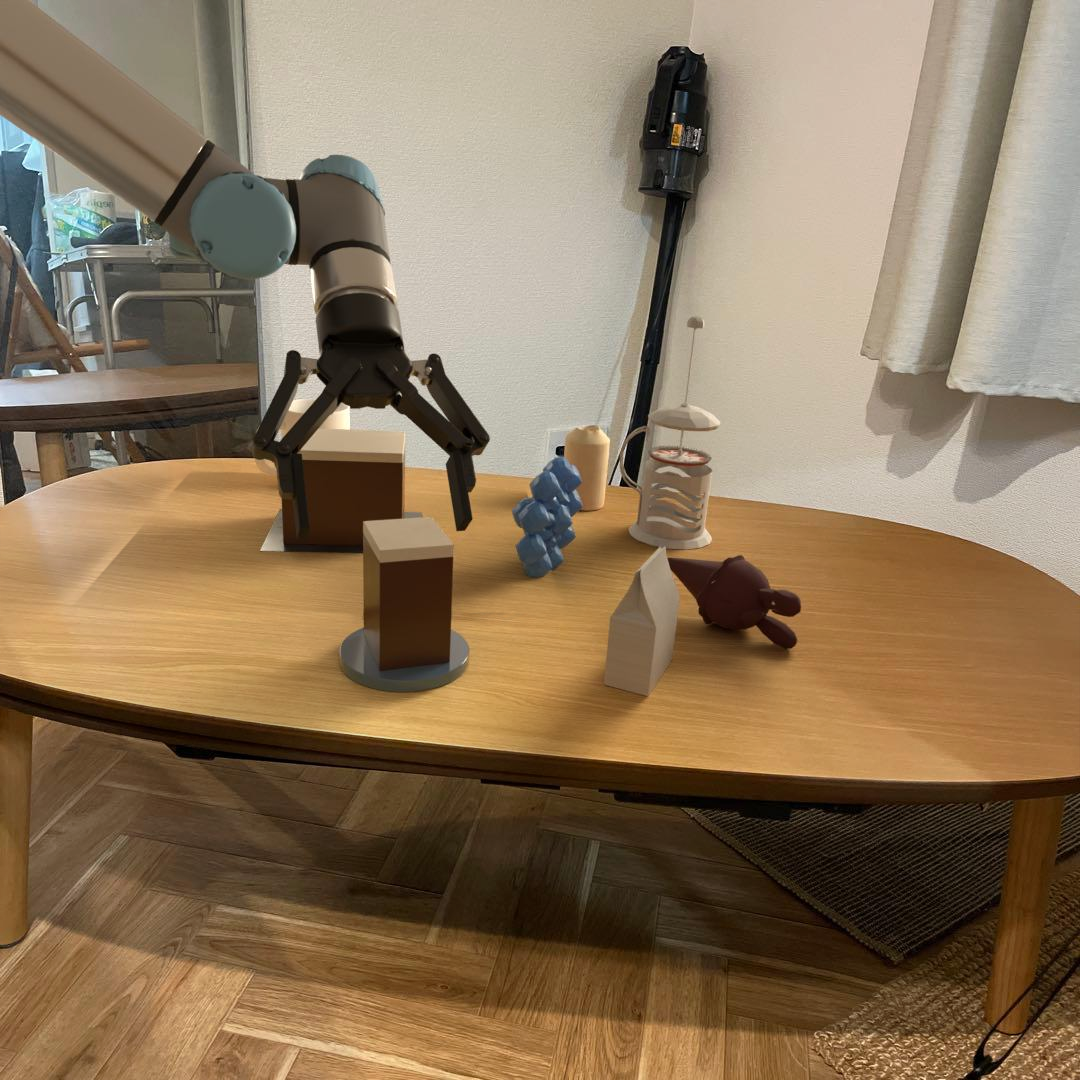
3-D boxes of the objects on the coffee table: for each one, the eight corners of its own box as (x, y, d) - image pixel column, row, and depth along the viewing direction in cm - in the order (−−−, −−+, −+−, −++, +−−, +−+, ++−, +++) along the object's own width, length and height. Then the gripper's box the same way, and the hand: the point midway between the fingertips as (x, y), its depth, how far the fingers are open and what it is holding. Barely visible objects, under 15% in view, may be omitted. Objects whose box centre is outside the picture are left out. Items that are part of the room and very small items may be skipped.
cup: (361, 489, 113) (360, 410, 110) (268, 502, 106) (264, 418, 103) (334, 472, 119) (332, 396, 116) (244, 483, 112) (240, 403, 109)
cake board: (260, 560, 90) (259, 550, 90) (280, 516, 102) (280, 508, 102) (420, 563, 92) (420, 554, 92) (422, 520, 104) (422, 512, 104)
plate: (333, 692, 67) (332, 680, 67) (345, 629, 77) (345, 619, 77) (471, 692, 69) (472, 680, 68) (466, 630, 78) (467, 620, 78)
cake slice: (379, 671, 69) (379, 550, 65) (363, 634, 74) (362, 521, 71) (450, 662, 71) (454, 544, 67) (429, 627, 76) (431, 516, 73)
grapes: (532, 547, 98) (539, 440, 94) (589, 560, 96) (599, 451, 92) (482, 582, 88) (487, 465, 84) (544, 598, 86) (553, 478, 82)
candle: (581, 494, 117) (587, 419, 114) (612, 505, 114) (620, 428, 110) (551, 502, 113) (557, 424, 110) (583, 514, 110) (590, 434, 106)
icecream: (639, 545, 83) (776, 616, 73) (691, 513, 87) (827, 576, 77) (639, 604, 87) (769, 678, 77) (689, 571, 91) (818, 637, 81)
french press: (712, 553, 100) (745, 325, 91) (609, 541, 102) (631, 315, 93) (711, 525, 109) (741, 315, 100) (616, 514, 111) (637, 306, 102)
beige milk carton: (671, 660, 76) (686, 550, 72) (648, 696, 70) (662, 578, 66) (630, 649, 77) (642, 541, 73) (603, 684, 71) (615, 568, 68)
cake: (283, 544, 92) (279, 449, 88) (295, 514, 100) (292, 427, 97) (401, 546, 93) (402, 453, 90) (404, 517, 102) (405, 431, 98)
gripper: (476, 339, 90) (513, 537, 83) (211, 332, 80) (228, 553, 74) (498, 294, 83) (539, 505, 76) (211, 281, 74) (230, 519, 67)
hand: (386, 529), depth 75 cm, fingers open, 13 cm apart
